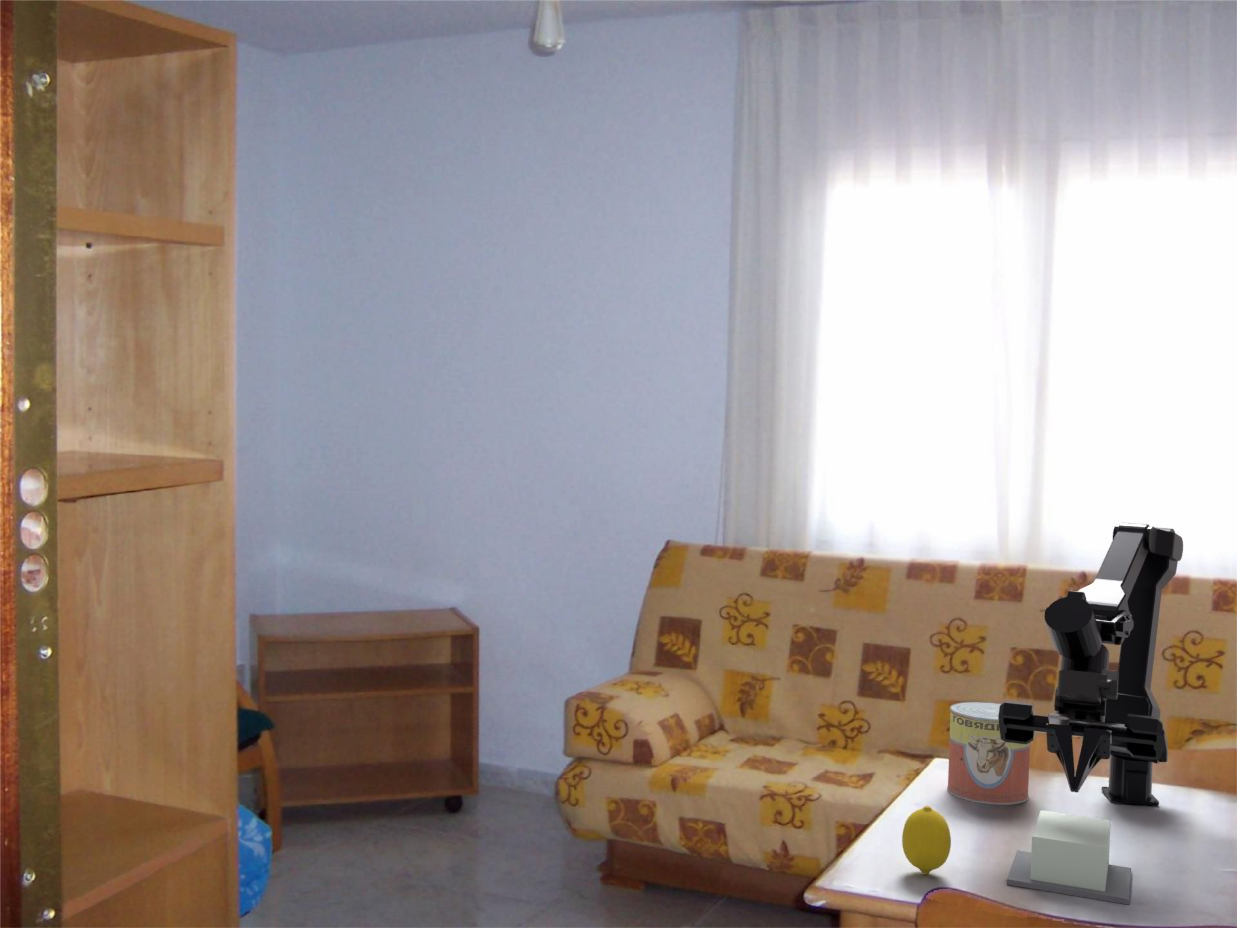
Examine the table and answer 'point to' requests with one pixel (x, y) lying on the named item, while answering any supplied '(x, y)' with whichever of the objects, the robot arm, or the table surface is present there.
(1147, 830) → the table surface
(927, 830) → the lemon
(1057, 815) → the sage block
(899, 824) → the table surface
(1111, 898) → the mat
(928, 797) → the table surface
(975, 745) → the canned food
